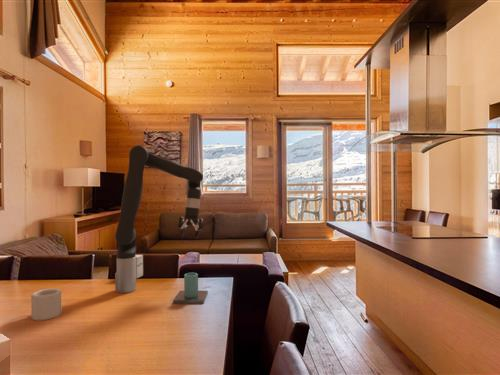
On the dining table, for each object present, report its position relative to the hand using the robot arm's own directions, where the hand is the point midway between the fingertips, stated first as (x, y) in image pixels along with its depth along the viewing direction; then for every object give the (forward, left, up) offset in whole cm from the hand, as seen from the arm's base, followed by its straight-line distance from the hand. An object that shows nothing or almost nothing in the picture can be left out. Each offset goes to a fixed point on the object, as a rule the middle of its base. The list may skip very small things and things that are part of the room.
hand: (189, 237), depth 179 cm
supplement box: (-37, +19, -27) cm, 49 cm away
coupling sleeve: (+4, -20, -25) cm, 32 cm away
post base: (+4, -20, -26) cm, 33 cm away
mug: (-54, -40, -27) cm, 72 cm away
